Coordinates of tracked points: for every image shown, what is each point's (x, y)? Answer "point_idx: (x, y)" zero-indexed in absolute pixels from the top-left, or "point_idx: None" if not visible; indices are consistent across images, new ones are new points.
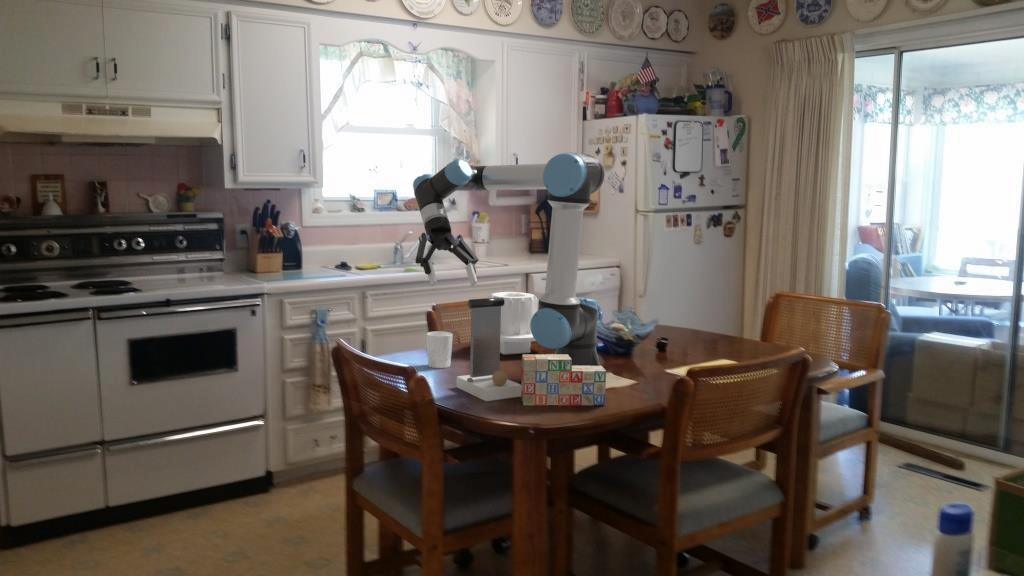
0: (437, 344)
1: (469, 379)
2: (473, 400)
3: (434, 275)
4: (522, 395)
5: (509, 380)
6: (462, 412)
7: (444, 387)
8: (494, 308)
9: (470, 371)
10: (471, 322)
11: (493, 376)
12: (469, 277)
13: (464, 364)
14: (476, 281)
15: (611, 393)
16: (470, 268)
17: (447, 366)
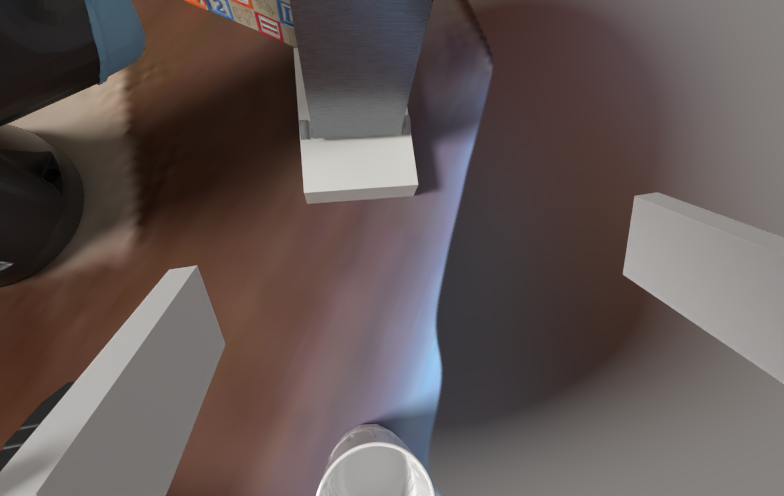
0: (400, 442)
1: (409, 117)
2: (418, 81)
3: (698, 214)
4: None
5: (299, 97)
6: (472, 20)
7: (443, 205)
8: None
9: (401, 124)
10: (430, 5)
11: None
12: (191, 397)
13: (275, 458)
14: (183, 268)
15: None
16: (119, 408)
17: (351, 429)
